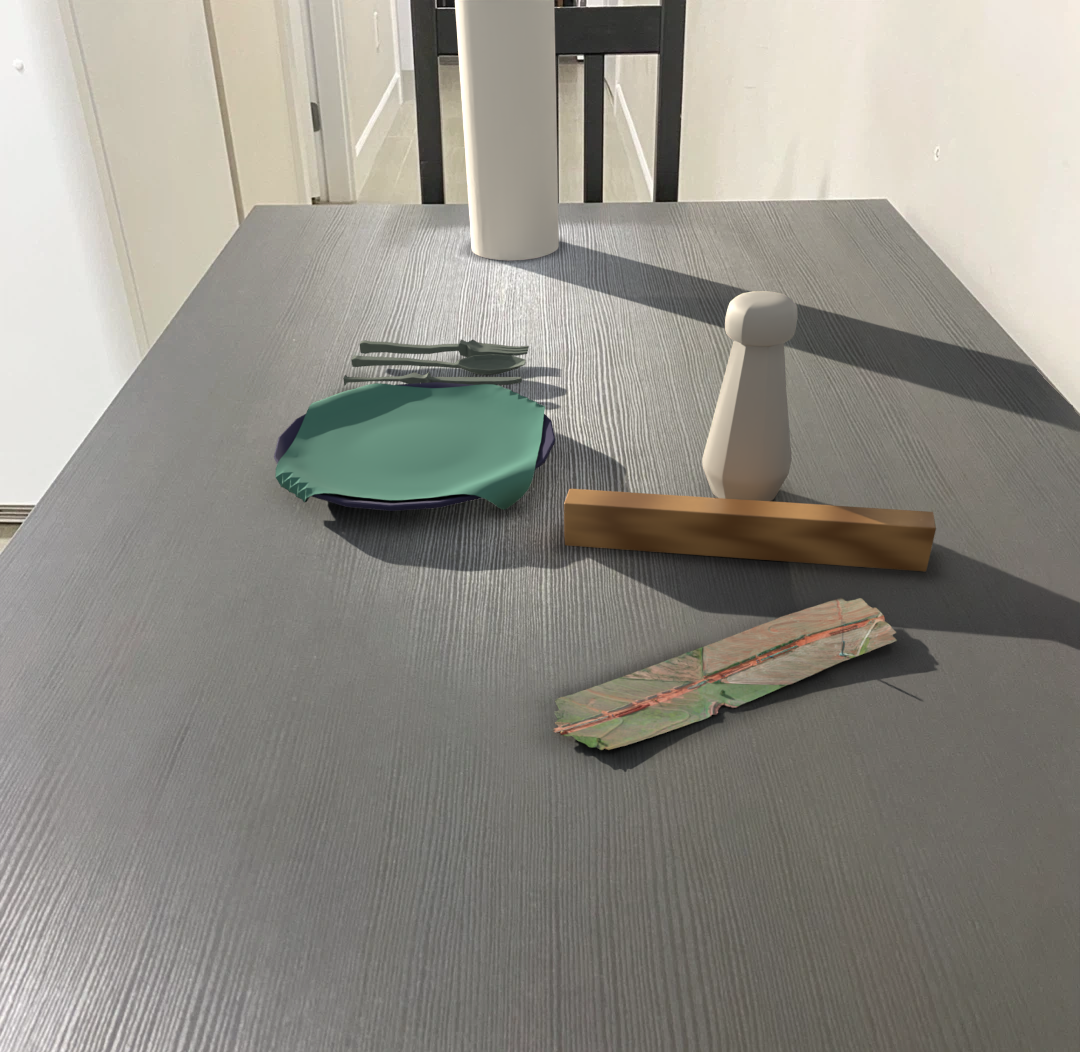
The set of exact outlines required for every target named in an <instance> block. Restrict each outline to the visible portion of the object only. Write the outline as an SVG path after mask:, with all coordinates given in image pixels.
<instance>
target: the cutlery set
mask: <svg viewBox="0 0 1080 1052" xmlns="http://www.w3.org/2000/svg"><path fill="white" fill-rule="evenodd" d="M529 347H530V346H529V345H521V346H520V345H518V346H517V345H506V344H505V345H504V344H497V343H485V342H484V343H483V342H479V341H476V340H475V339H470V340H469V341H466V340H464V339H460V340H459V342H458V343H441V344H430V345H429V344H427V345H426V344H412V343H411V344H410V343H399V342H391V341H371V340H367V339H365V340H361V341H360V342H359V353H360V354H364V355H358V354H357V355H356V354H355V355H353V356H352V358H351V359H350V360H351V361H350V362H351V367H352V368H360V367H377V366H382V367H383V366H387V367H388V366H411V367H412V366H414V367H427V368H428V367H431V368H433V367H435V368H449V369H462V370H464V371H467V372H469V373H471V374H474V375H478V376H432V375H431V372H430V371H428V372H427V373H426V374H420V373H418V372H410V373H407V374H405V375H401V376H397V375H396V376H395V375H392V376H391V375H390V376H387V375H386V376H377V377H367V376H366V377H362V376H361V377H360V376H347V375H346V374H345V375H344V376H343V377H342V378H343V379H342V380H343V385H344V387H345V386H346V385H347V384H350V383H365V382H366V383H367V382H377V383H370V384H365V385H362V386H359V387H355V388H352V389H348V390H344V391H342V392H339V393H336V394H333V395H331V396H327V397H325V398H323V399H320V400H317V401H314V402H311V403H310V404H309V406H308V407H307V409H306V412H305V413H304V414H302V415H301V416H299V417H297V418H296V419H294V420H293V421H292V423H291V424H290V425H289V426H288V427H287V428H286V429H284V431H283V432H282V433H281V434H280V435H279V436H278V438H277V442H276V444H275V445H276V446H275V450H274V454H273V459H274V462H275V464H276V467H275V480H277V482H278V484H279V486H280V487H281V488H283V489H285V490H287V491H288V492H289V493H291V494H294V495H295V497H296V498H298V499H300V500H301V501H302V502H303V503H307V502H308V500H309V499H310V497H312V498H315V499H319V500H322V501H326V502H328V503H332V504H336V505H339V506H343V507H345V508H354V509H365V510H375V511H386V512H398V511H415V510H431V509H432V510H433V509H441V508H446V507H451V506H455V505H459V504H464V503H469V502H472V501H477V500H481V499H484V500H486V501H487V502H489V503H492V505H494V506H496V507H497V508H498V509H500V510H503V511H505V510H507V509H508V508H511V507H512V506H514V504H516V503H517V502H519V500H521V499H522V498H523V497H524V496H525V494H526V493H527V492H528V491H529V490H530V487H531V485H532V483H533V479H534V475H535V472H536V471H537V470H538V469H539V468H541V467H542V466H543V465H544V464H545V463H546V462H547V460H548V458H549V456H550V454H551V452H552V450H553V448H554V447H555V444H556V435H555V430H554V425H553V422H552V419H551V418H550V417H549V416H548V415H546V413H545V412H546V411H545V410H546V405H544V404H541V403H539V402H537V400H533V399H530V398H529V397H527V396H524V395H521V394H520V393H518V392H515V391H512V389H510V388H506V387H504V386H511V385H515V384H520V383H522V382H523V377H522V376H495V375H500V374H505V373H507V372H511V371H515V370H518V369H520V368H521V367H523V366H525V365H526V362H527V359H526V358H522V357H519V356H524V355H528V352H529V349H530V348H529ZM447 352H448V353H449V352H458V354H459V356H462V357H464V358H460V359H458V360H457V361H455V362H449V361H443V360H442V361H441V360H432V359H431V360H430V359H418V358H413V357H411V358H410V357H396V356H395V357H394V356H393V357H391V356H369V355H366V354H371V353H372V354H373V353H375V354H377V353H378V354H379V353H389V354H401V355H431V354H432V355H433V354H440V353H447ZM381 382H400V383H402V384H399V383H398V384H391V383H381Z"/></svg>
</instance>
